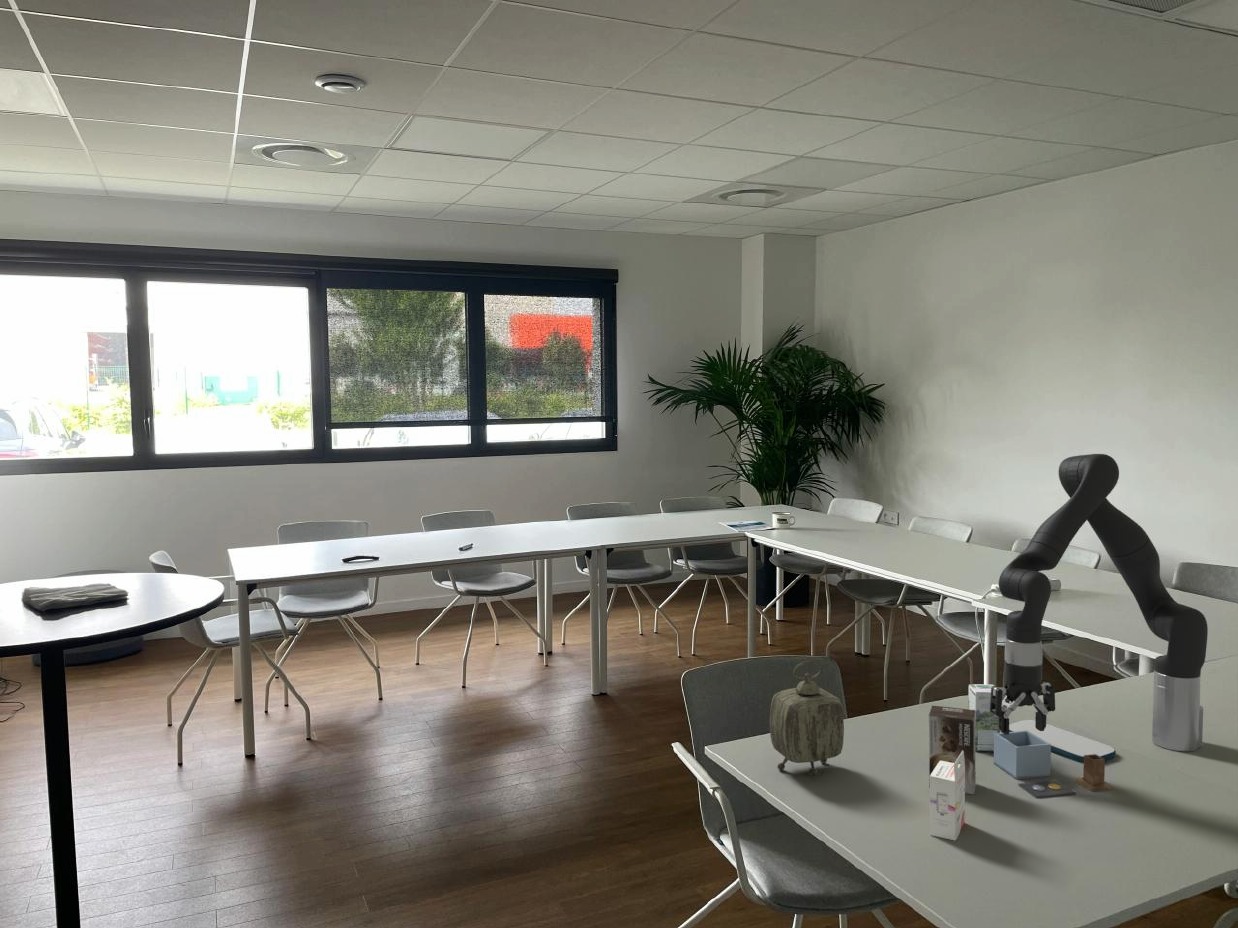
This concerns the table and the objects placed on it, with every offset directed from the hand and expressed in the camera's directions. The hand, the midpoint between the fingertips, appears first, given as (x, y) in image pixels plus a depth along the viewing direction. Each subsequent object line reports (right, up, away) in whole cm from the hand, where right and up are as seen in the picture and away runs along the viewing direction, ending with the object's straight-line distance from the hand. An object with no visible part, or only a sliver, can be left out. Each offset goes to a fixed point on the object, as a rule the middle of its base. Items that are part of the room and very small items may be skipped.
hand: (1022, 731), depth 195 cm
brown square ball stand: (+12, -9, -7) cm, 17 cm away
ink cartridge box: (-26, -11, -25) cm, 38 cm away
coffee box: (-18, -10, -6) cm, 21 cm away
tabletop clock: (-47, -10, +2) cm, 48 cm away
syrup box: (-3, -8, +13) cm, 16 cm away
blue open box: (0, -9, +1) cm, 9 cm away
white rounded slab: (+15, -8, +14) cm, 22 cm away
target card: (+1, -9, -9) cm, 13 cm away
